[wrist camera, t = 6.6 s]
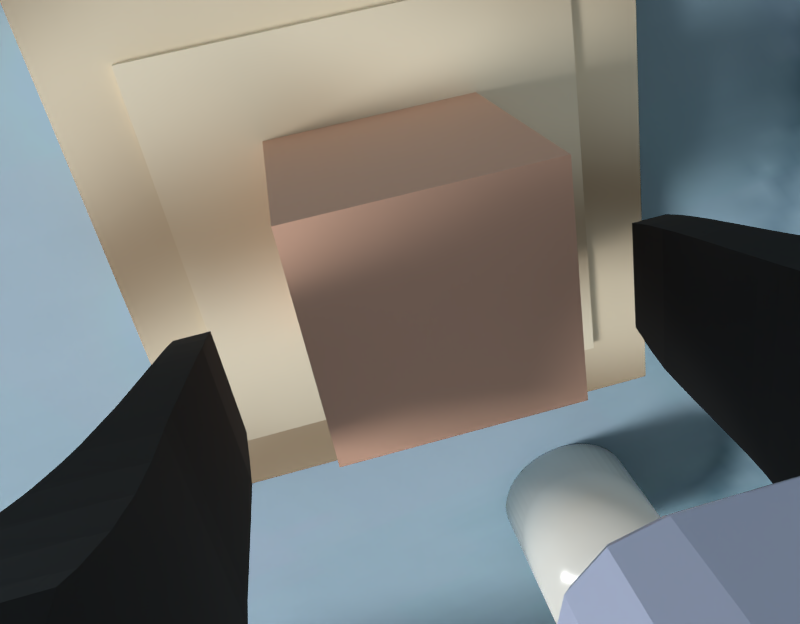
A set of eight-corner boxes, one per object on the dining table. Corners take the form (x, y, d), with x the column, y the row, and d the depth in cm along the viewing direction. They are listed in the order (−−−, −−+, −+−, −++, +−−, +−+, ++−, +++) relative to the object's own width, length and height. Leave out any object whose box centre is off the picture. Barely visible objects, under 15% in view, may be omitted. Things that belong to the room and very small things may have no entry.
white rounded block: (627, 522, 24) (691, 620, 21) (513, 555, 24) (559, 660, 21) (622, 428, 23) (692, 519, 19) (498, 463, 22) (546, 562, 19)
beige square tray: (620, 348, 21) (649, 380, 20) (208, 459, 20) (205, 502, 19) (598, -132, 15) (638, -139, 14) (20, -10, 14) (-7, -3, 13)
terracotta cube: (500, 283, 17) (588, 399, 13) (314, 330, 17) (339, 467, 13) (475, 91, 15) (571, 154, 11) (262, 140, 15) (271, 226, 10)
